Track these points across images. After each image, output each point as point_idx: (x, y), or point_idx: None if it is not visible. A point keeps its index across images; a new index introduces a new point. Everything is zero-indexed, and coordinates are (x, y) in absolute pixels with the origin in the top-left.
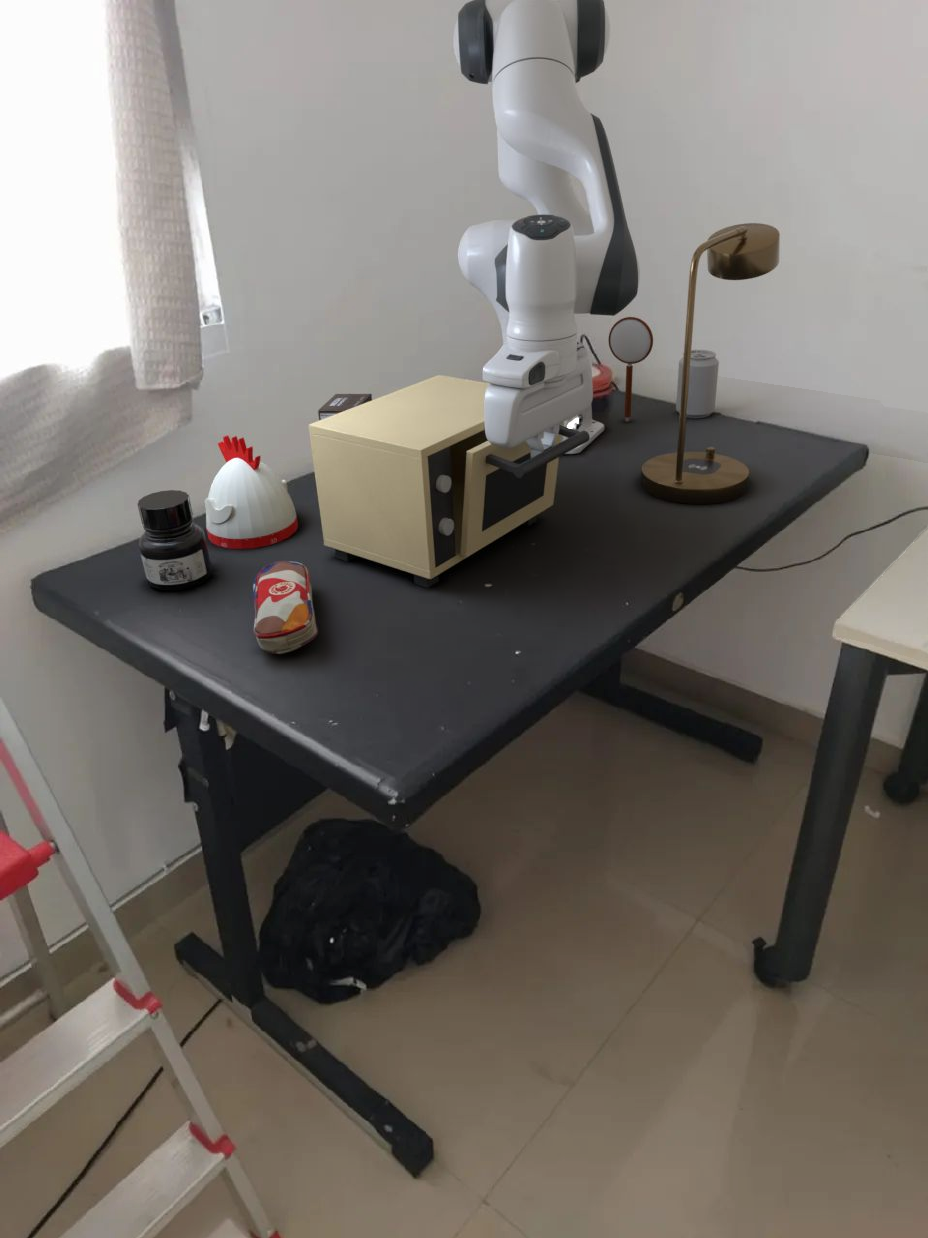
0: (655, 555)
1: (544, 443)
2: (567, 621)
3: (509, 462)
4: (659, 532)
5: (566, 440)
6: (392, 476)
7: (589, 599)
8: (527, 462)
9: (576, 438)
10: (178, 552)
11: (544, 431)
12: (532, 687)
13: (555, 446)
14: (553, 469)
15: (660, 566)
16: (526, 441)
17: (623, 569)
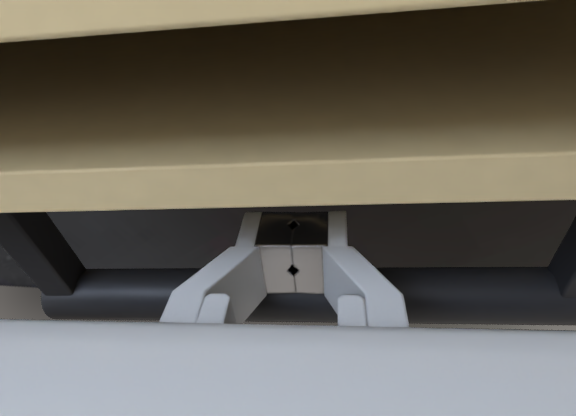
0: (443, 236)
1: (324, 269)
2: (159, 237)
3: (38, 269)
4: (558, 200)
5: (418, 316)
6: None
7: (234, 229)
8: (99, 317)
9: (479, 323)
10: None
11: (360, 294)
12: (23, 277)
13: (318, 317)
14: None
15: (404, 258)
16: (189, 279)
17: (361, 221)
